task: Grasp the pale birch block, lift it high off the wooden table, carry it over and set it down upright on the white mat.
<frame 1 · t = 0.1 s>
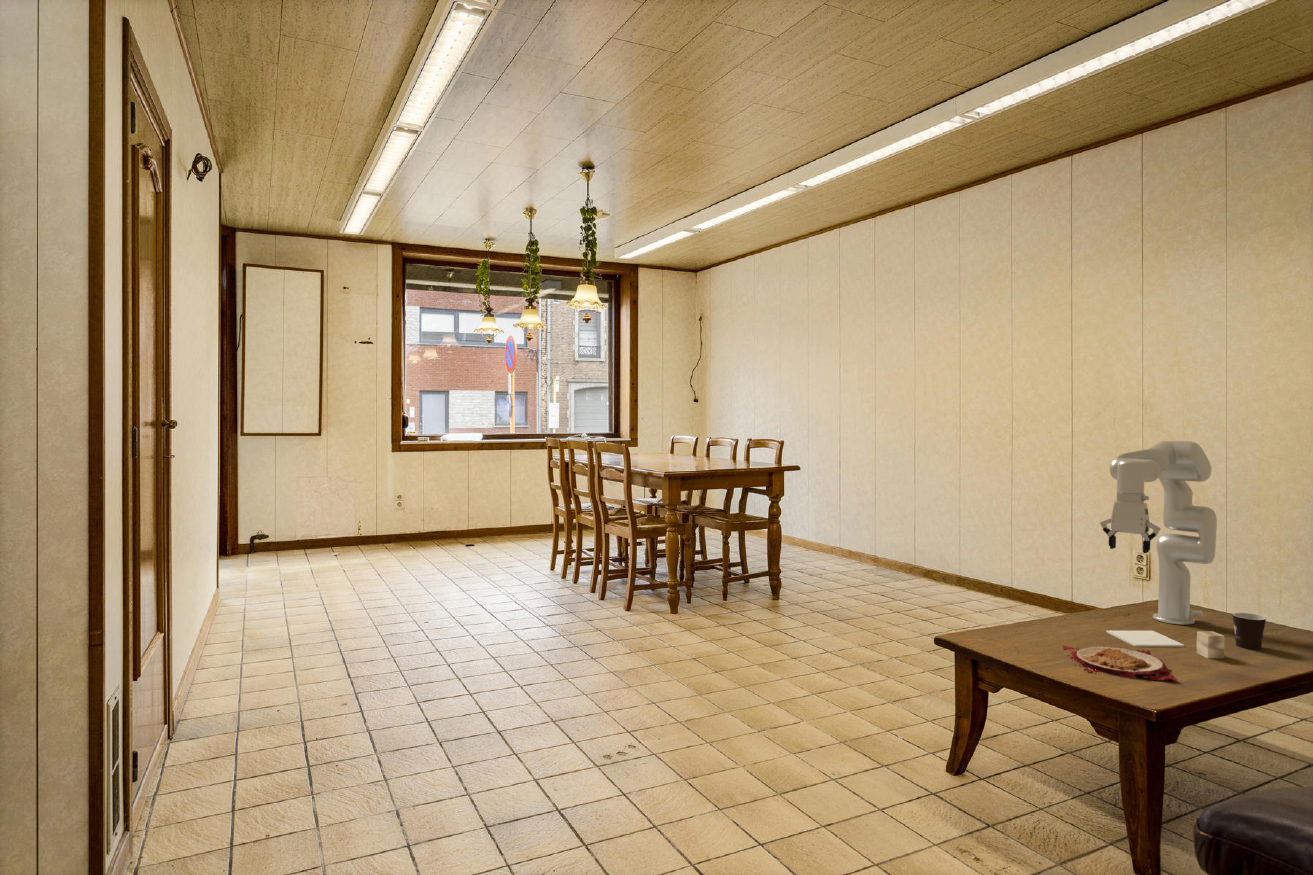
hand: (1129, 550, 250), 31 cm above the table, tool pointing down, fingers open, 9 cm apart
birch block: (1210, 655, 240), on the table
coffee mug: (1249, 646, 250), on the table
plate with food: (1116, 666, 233), on the table
white mat: (1144, 639, 258), on the table
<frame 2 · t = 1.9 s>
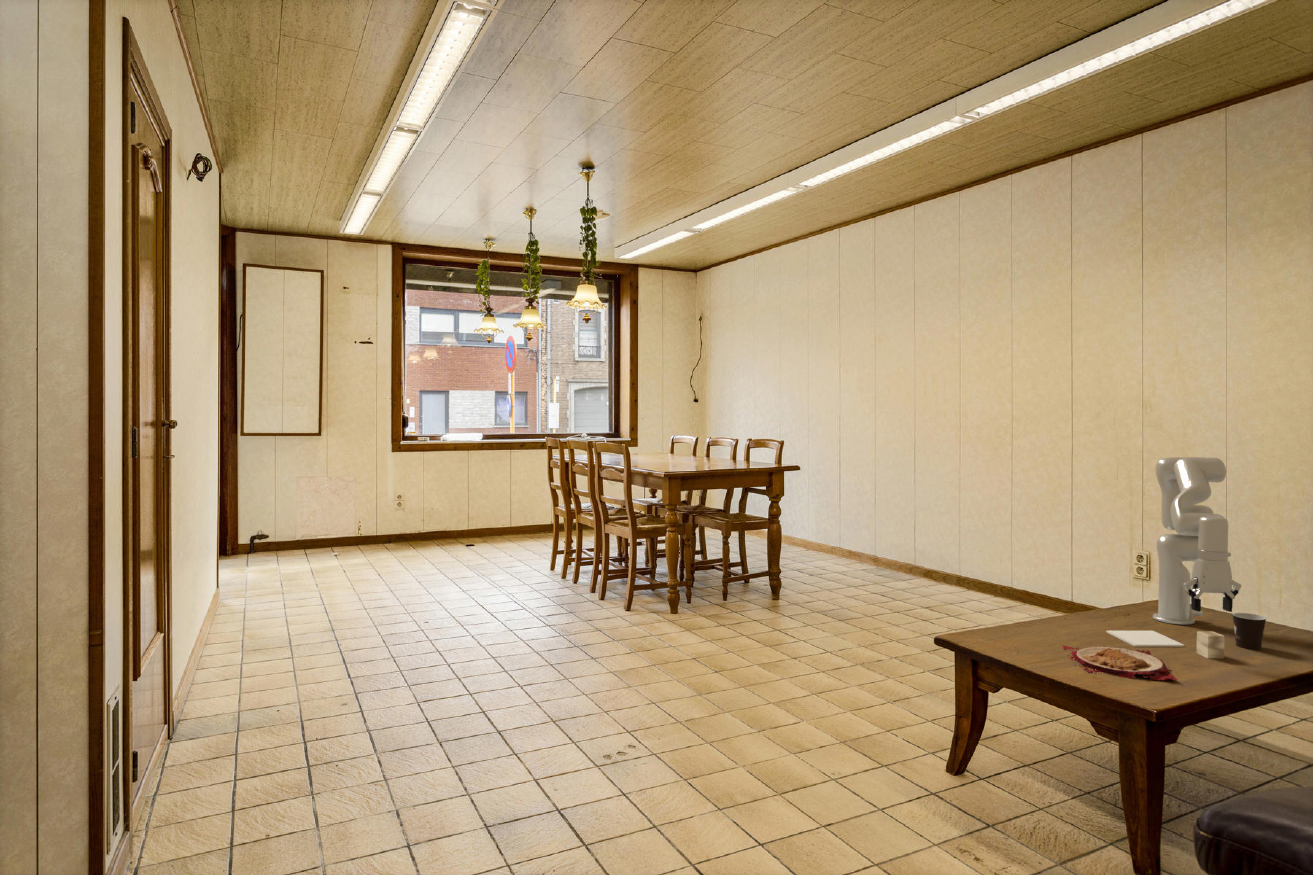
hand: (1211, 610, 239), 14 cm above the table, tool pointing down, fingers open, 9 cm apart
nothing on the table moved.
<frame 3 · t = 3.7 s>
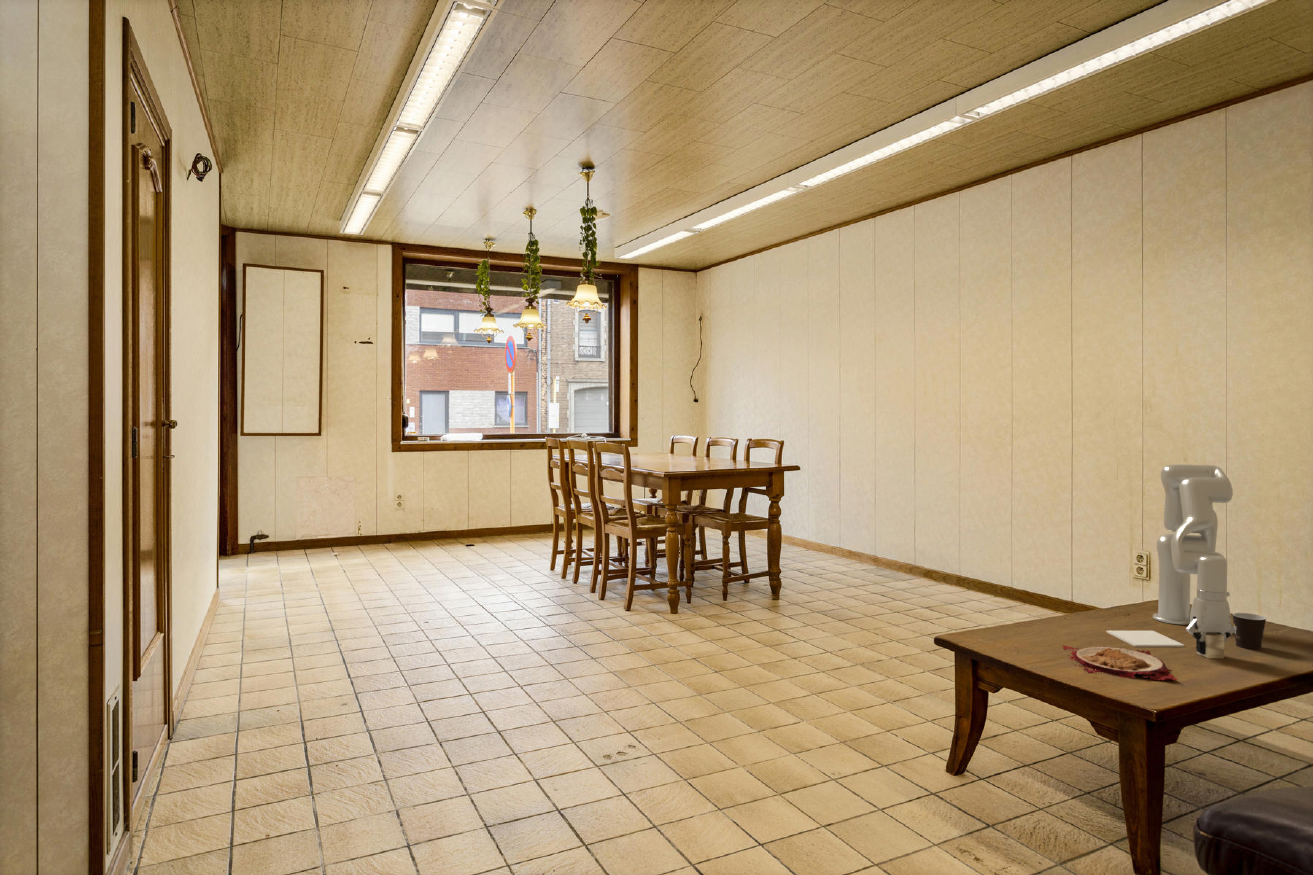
hand: (1210, 652, 240), 1 cm above the table, tool pointing down, fingers closed on birch block, 5 cm apart
birch block: (1210, 655, 240), on the table, touching gripper
everything else where it was.
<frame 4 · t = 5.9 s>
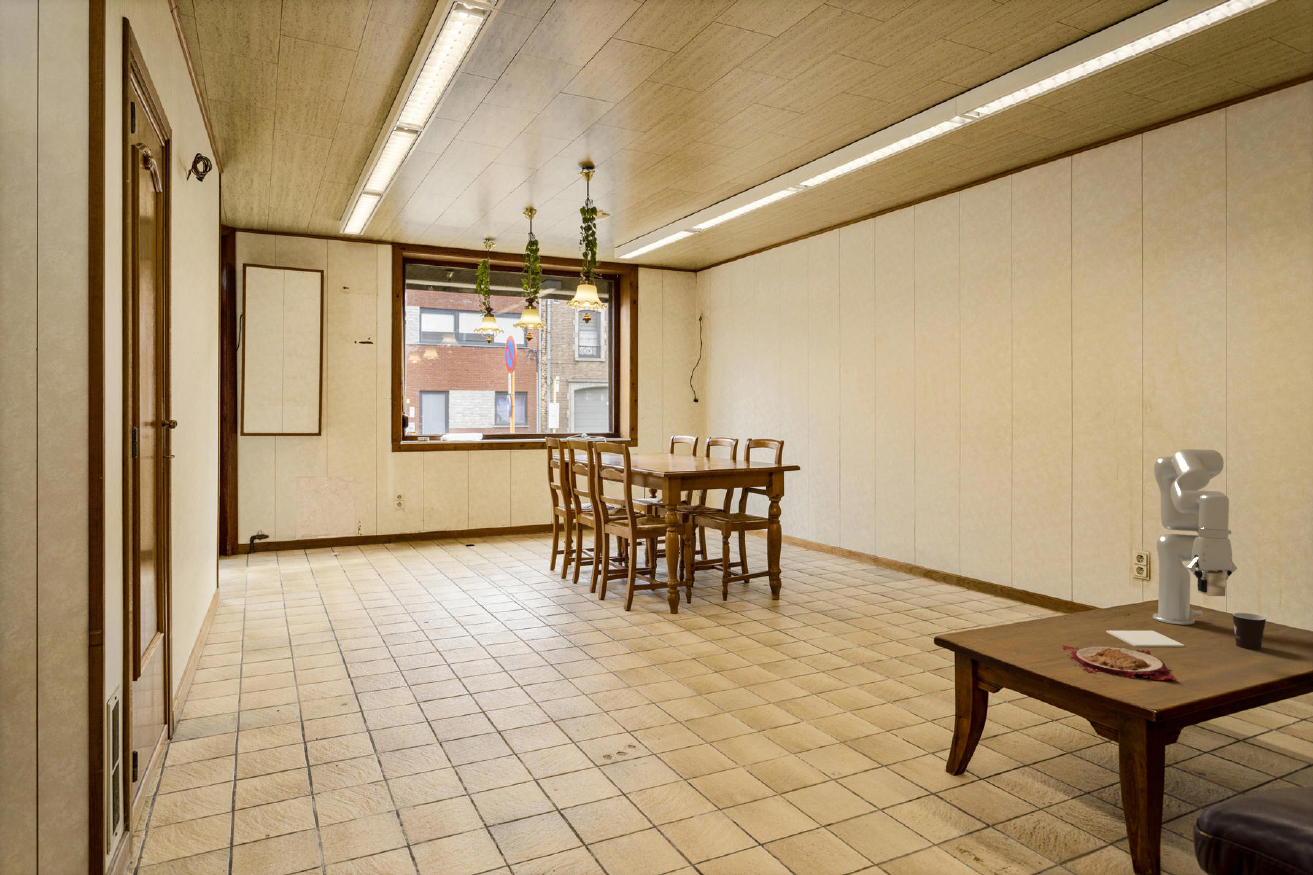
hand: (1211, 590, 240), 20 cm above the table, tool pointing down, fingers closed on birch block, 5 cm apart
birch block: (1211, 594, 240), point 19 cm above the table, touching gripper
everything else where it was.
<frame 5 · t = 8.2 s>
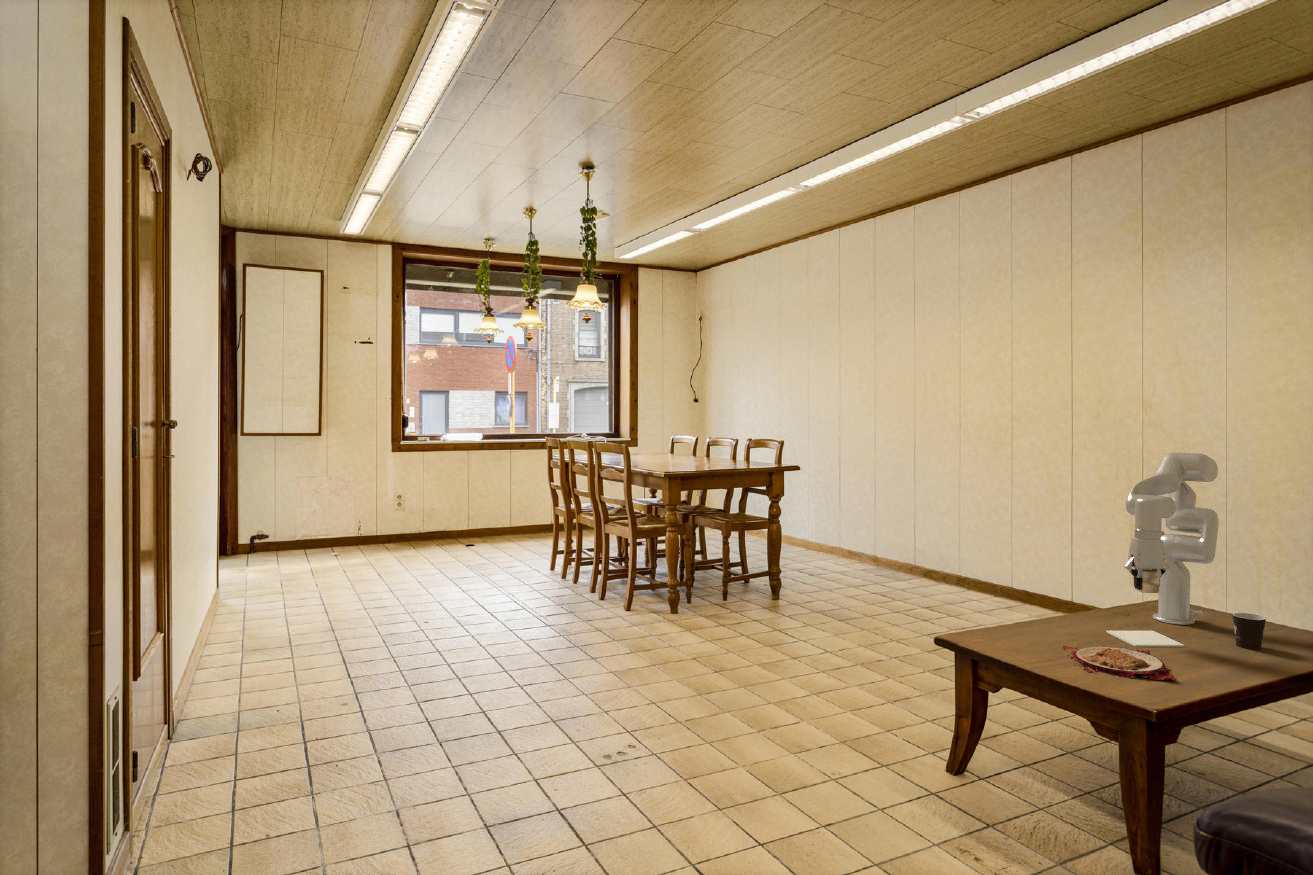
hand: (1146, 588, 257), 17 cm above the table, tool pointing down, fingers closed on birch block, 5 cm apart
birch block: (1146, 591, 257), point 16 cm above the table, touching gripper
everything else where it was.
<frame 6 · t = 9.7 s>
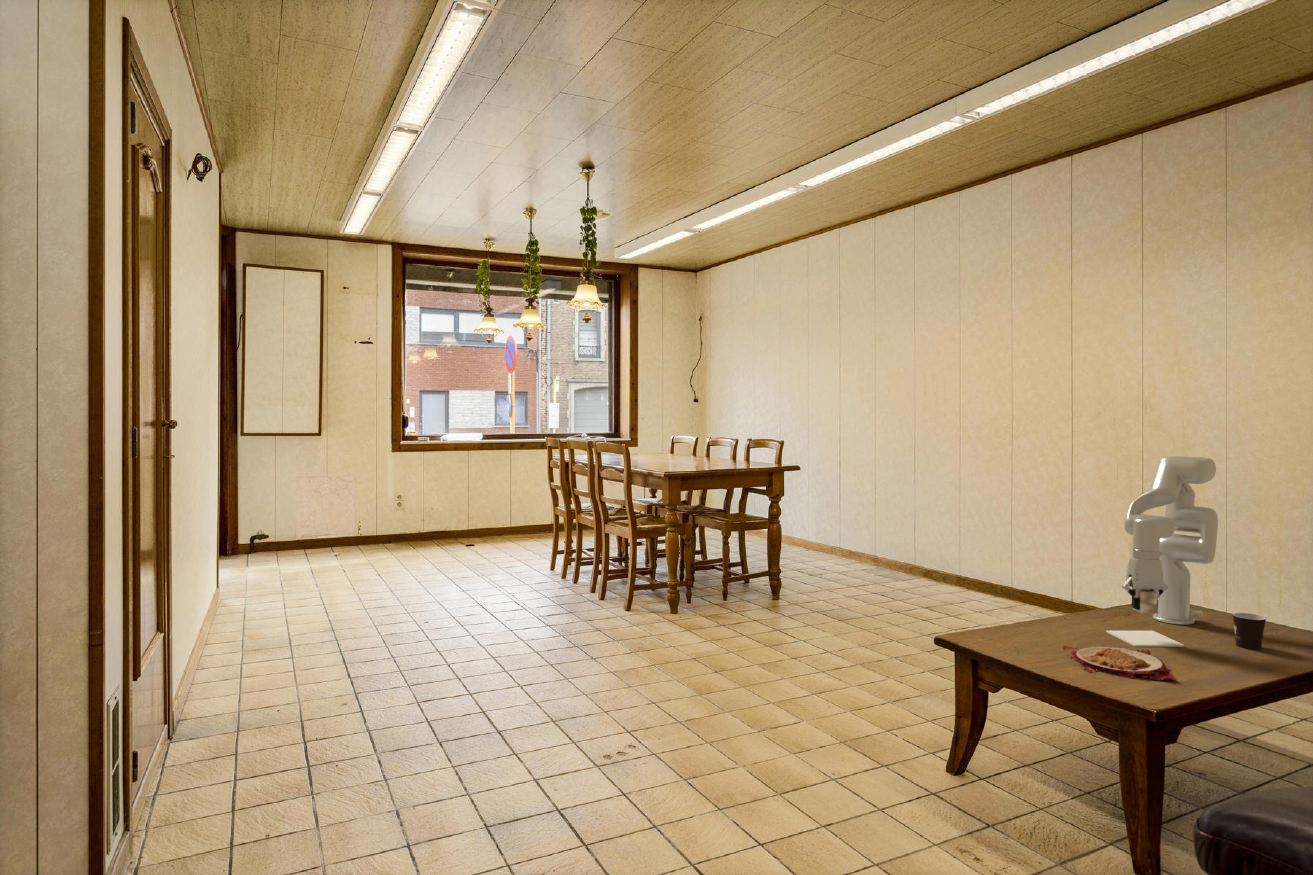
hand: (1144, 608, 257), 11 cm above the table, tool pointing down, fingers closed on birch block, 5 cm apart
birch block: (1144, 611, 257), point 10 cm above the table, touching gripper
everything else where it was.
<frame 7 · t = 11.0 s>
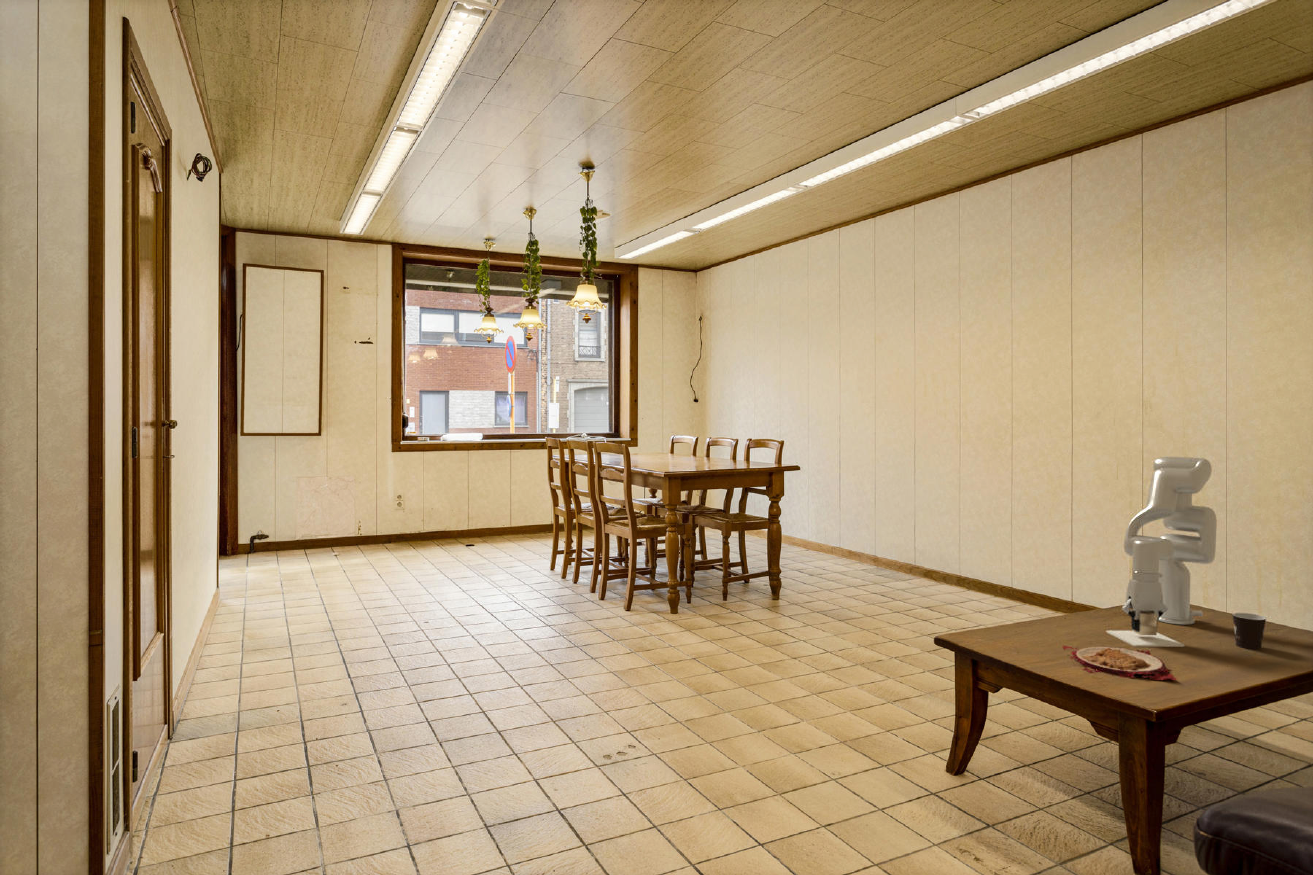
hand: (1144, 629, 257), 3 cm above the table, tool pointing down, fingers closed on birch block, 5 cm apart
birch block: (1144, 632, 257), point 2 cm above the table, touching gripper
everything else where it was.
when the fingers open (3 cm above the table, at t = 11.4 s): birch block drops 1 cm, resting on white mat.
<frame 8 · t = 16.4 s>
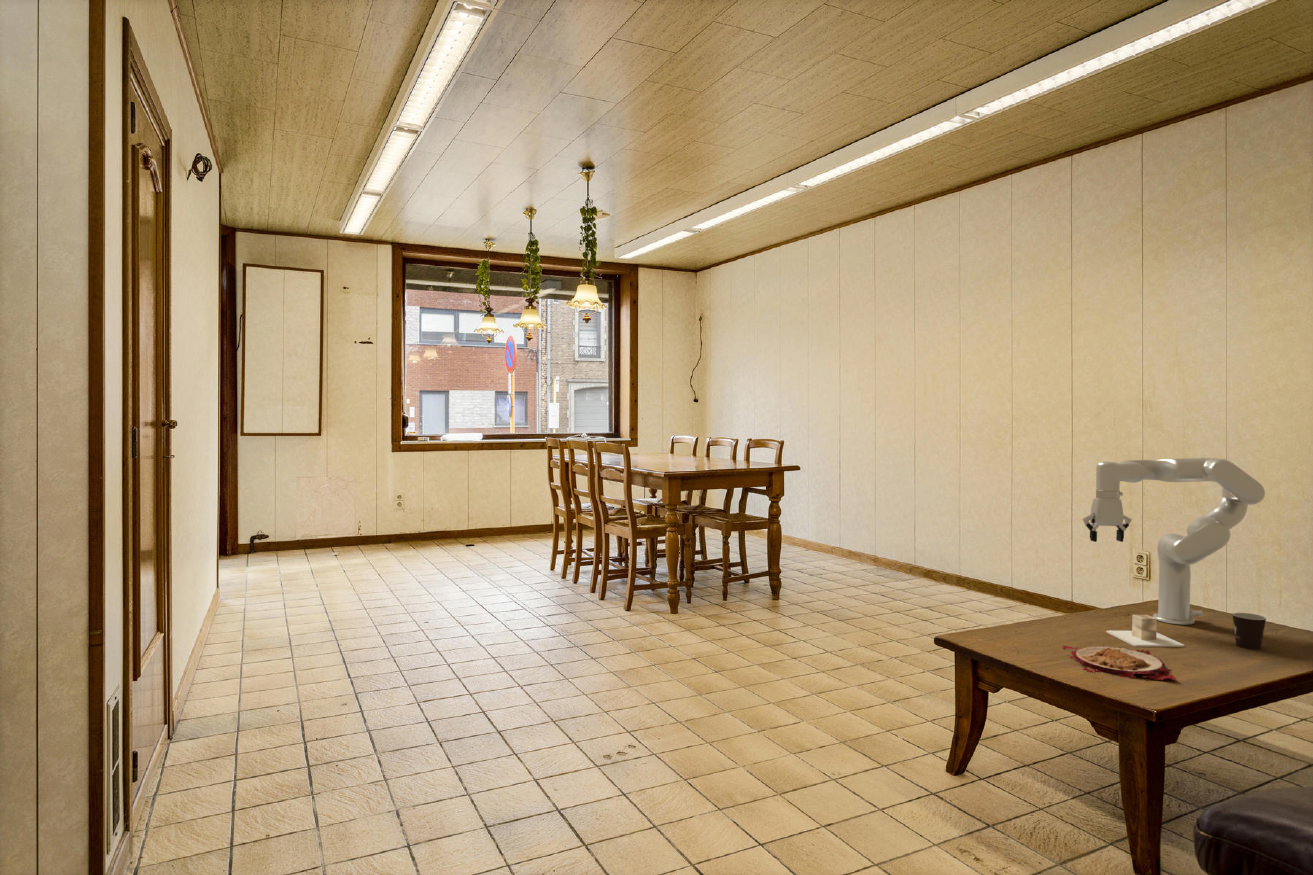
hand: (1106, 541, 284), 28 cm above the table, tool pointing down, fingers open, 9 cm apart
birch block: (1144, 637, 257), point 1 cm above the table, touching white mat
everything else where it was.
at the end: birch block inside the target area on the white mat (0.0 cm from its centre), point 0.6 cm above the white mat's base; birch block tilted 0°; the gripper is holding nothing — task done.
